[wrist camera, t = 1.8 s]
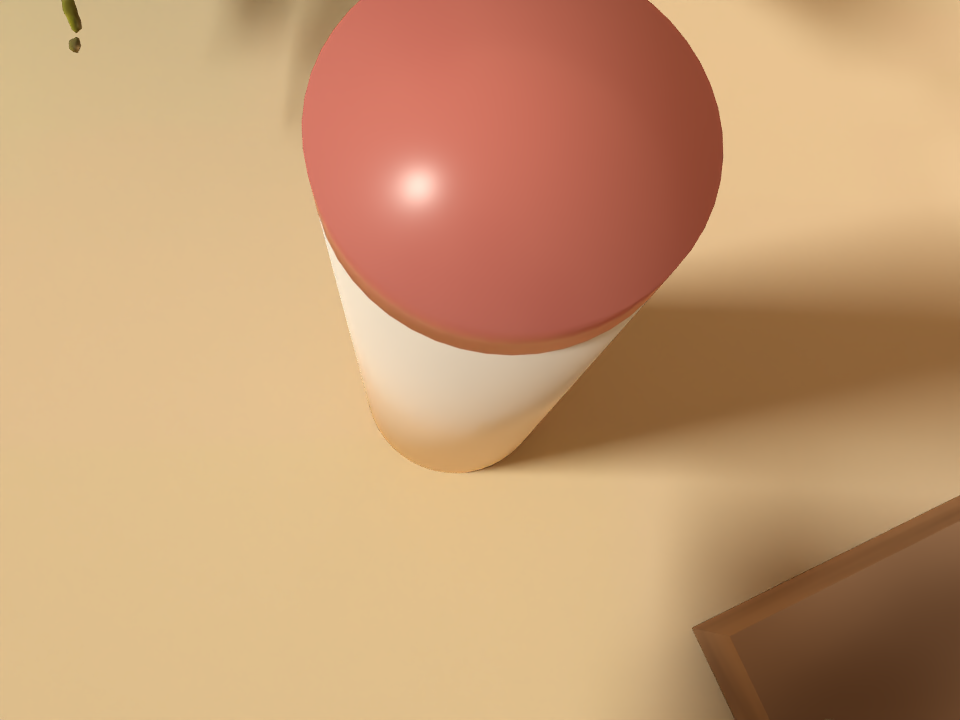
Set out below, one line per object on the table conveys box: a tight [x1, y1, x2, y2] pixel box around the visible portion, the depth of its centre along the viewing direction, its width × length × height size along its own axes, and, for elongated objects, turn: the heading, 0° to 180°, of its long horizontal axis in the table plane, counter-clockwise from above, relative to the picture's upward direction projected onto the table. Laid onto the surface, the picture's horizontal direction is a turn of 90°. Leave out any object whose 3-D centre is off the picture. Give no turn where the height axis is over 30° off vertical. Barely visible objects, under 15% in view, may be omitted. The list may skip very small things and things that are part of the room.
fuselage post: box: [302, 0, 723, 473], centre depth 15 cm, size 5×5×13 cm
